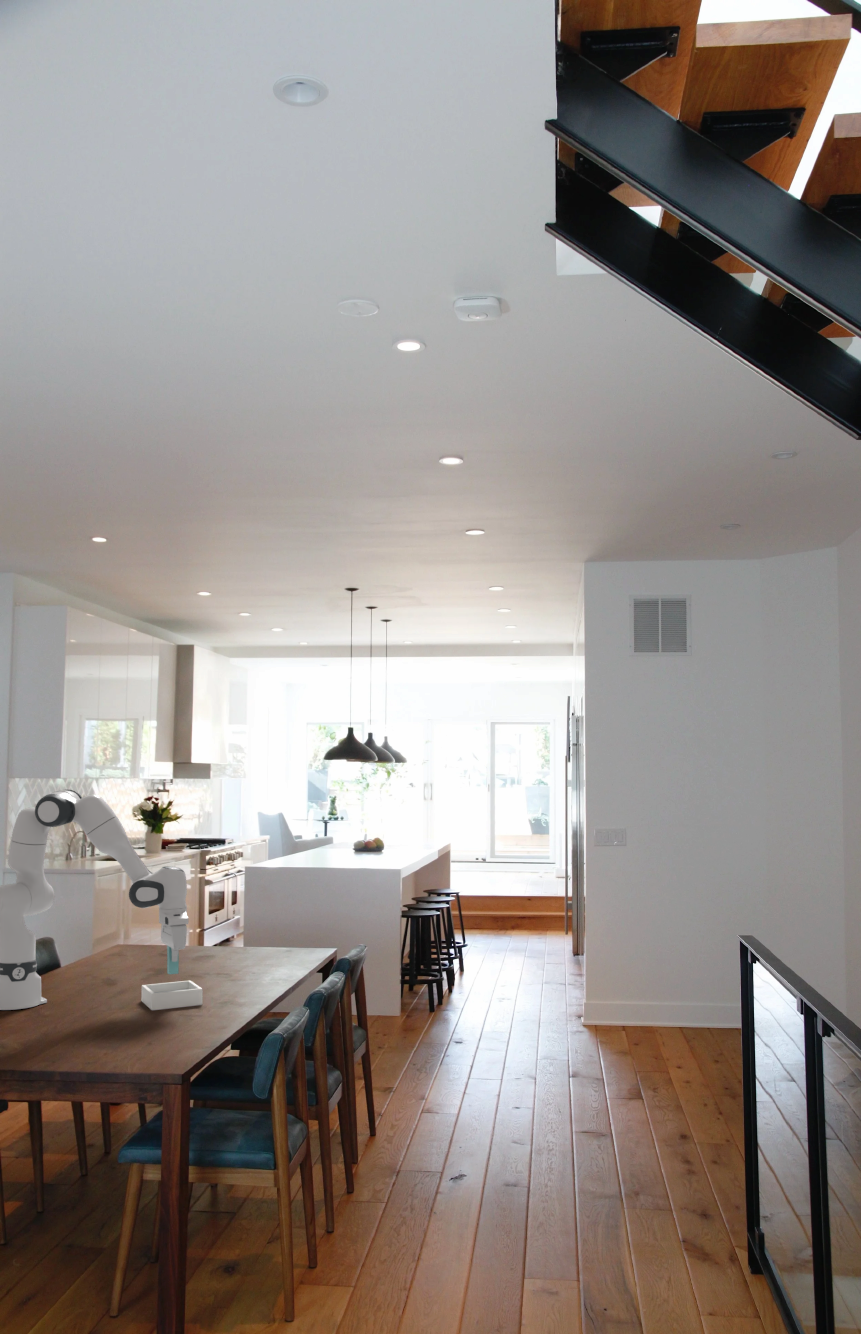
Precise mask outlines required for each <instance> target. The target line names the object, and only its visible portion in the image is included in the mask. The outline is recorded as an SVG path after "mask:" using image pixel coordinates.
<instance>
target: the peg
mask: <svg viewBox="0 0 861 1334" xmlns="http://www.w3.org/2000/svg"><path fill="white" fill-rule="evenodd" d="M166 951H167V954H166V956H167V957H166V961H167V962H166V963H167V966H166V968H167V969H166V972H167V973H166V974H168V975H178V974H179V967H180V966H179V962H180V961H179V959H180V958H179V957H180V955H179V954H180V952H178V960H177V961H176V962H173V961H171V956H172V951H171V947H169V946H167V945H166Z"/></svg>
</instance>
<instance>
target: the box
mask: <svg viewBox="0 0 861 1334" xmlns="http://www.w3.org/2000/svg"><path fill="white" fill-rule="evenodd" d="M203 993H204V991H203V988H202V987H201V986H199V985H198V984H196V983H195V982H194V981H193V980H182V981H181V980H179V981H170V982H159V983H151V984H141V996H140V997H141V998H140V999H141V1002H142V1003H143V1004H144V1005H145V1006H146V1007H148V1008H149V1010H150V1011H158V1010H159V1011H160V1010H168V1009H177V1008H185V1007H195V1006H202V1005H203V1002H204V1001H203Z"/></svg>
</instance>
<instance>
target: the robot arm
mask: <svg viewBox="0 0 861 1334" xmlns="http://www.w3.org/2000/svg"><path fill="white" fill-rule="evenodd" d="M71 822H72V823H76V824H77V825H79V827H81V829H82V831H83V832H84V833H85V836H86V837H87V838H88V840H89V841H90V842H91V845H93V846H94V847H95V848H96V849H97V850H98V851H99V853H103V854H105V855H107V856H109V857H112V858H113V859H114V860H115V861H117V863H119V865H120V866H121V868H122V869H123V870H124V872H125V874H127V876H128V878H129V879H130V880H131V883H132V884H131V885H130V887H129V890H128V898H129V900H130V903H132V905H133V906H135V907H137V908H139V909H148V908H150V907H154V906H158V923H159V924H161V926H160V927H161V929H160V941H161V943H162V944H164V945H166V947H167V946H169V947H171V951H172V956H171V961H173V962H176V961H177V960H178V952H179V951H180V950H184V949H185V948H186V945H187V936H188V935H187V933H188V932H187V931H188V928H187V927H188V925H189V924H190V923H189V920H190V919H189V916H188V912H187V911H188V905H187V901H186V900H187V895H188V888H187V885H188V884H187V876H186V872H185V871H184V869H183V868H180V867H176V866H168V865H167V866H166V865H165V866H162V867H161V868H159V869H158V870H156V871H155V872H151V871H150V870H149V868H147V866H146V865H145V863H144V862H143V860H142V858H141V857H140V856H139V854H138V853H137V852H136V850H135V849H134V847H133V846H132V844H131V843H132V842H131V841H130V840H129V839H130V838H129V837H128V835H127V832H126V830H125V827H124V826H123V825H122V823H121V820H120V819H119V817H118V816H117V814H116V813H115V812H114V810H113V809H112V808H111V806H110V805H109V804H108V803H107V802H106V800H104V798H102V797H101V796H100V795H99V794H94V793H93V794H88V795H85V796H82V795H81V794H80V793H78V791H75V790H74V789H73V790H72V789H63V790H56V791H53V792H52V793H50V794H46V795H44V796H42V797H41V798H40V799H39V800H38V801H37V803H36V804H35V806H33V807H32V806H30V807H25V808H23V809H21V810H20V811H19V812H18V815H17V817H16V819H15V822H14V825H13V829H12V832H11V837H10V838H11V839H10V845H9V850H8V856H7V865H8V866H9V867H10V868H11V870H13V871H14V872H15V874H16V875H15V876H16V880H15V883H9V884H8V883H7V884H0V1011H11V1010H13V1011H14V1010H21V1009H23V1010H24V1009H28V1008H33V1007H36V1006H38V1005H42V1004H47V1003H48V999H47V998H45V997H43V996H42V977H41V976H40V975H39V974H38V973H37V972H36V971H38V970H37V968H38V967H37V966H38V963H37V962H38V961H37V959H36V948H37V947H36V946H37V943H36V941H37V938H36V937H37V936H36V934H35V933H34V931H33V930H30V929H28V927H27V925H26V922H25V917H28V916H35V915H39V914H41V913H44V912H47V910H50V909H51V908H52V906H53V904H54V903H55V897H56V895H55V890H54V888H53V886H52V885H51V884H50V883H49V882H48V880H47V878H46V875H45V865H44V864H45V855H46V850H47V844H48V843H47V842H48V835H49V832H50V830H51V829H52V828H57V827H61V826H65V825H67V824H71ZM179 953H180V952H179Z"/></svg>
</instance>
